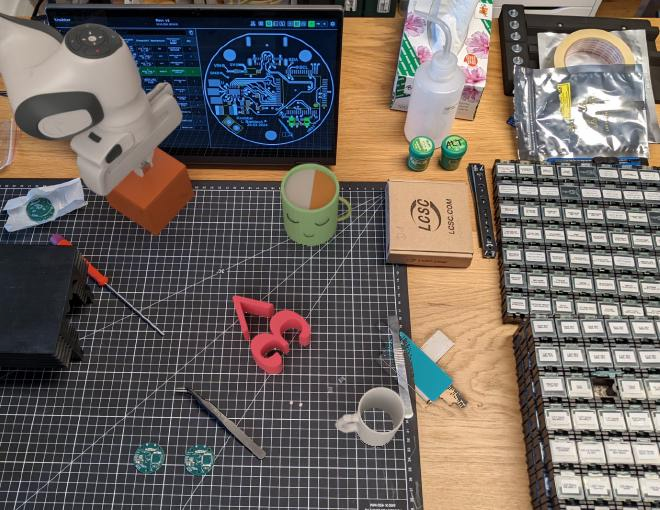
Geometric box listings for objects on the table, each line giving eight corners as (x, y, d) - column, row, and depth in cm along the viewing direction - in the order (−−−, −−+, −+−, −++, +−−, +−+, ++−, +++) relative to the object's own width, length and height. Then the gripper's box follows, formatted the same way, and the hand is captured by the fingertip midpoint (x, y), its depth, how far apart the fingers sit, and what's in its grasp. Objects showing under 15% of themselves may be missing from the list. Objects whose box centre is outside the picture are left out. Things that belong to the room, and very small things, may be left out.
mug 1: (279, 244, 115) (276, 210, 105) (288, 197, 120) (285, 160, 109) (347, 252, 115) (350, 219, 104) (352, 204, 120) (356, 168, 109)
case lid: (90, 174, 110) (83, 160, 106) (133, 133, 114) (128, 118, 110) (144, 211, 108) (139, 197, 104) (186, 168, 112) (182, 153, 108)
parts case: (110, 206, 118) (95, 180, 111) (149, 167, 123) (138, 139, 115) (156, 236, 116) (145, 211, 108) (194, 195, 120) (186, 168, 112)
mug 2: (391, 404, 102) (399, 383, 91) (399, 445, 99) (409, 429, 88) (330, 413, 101) (332, 394, 90) (337, 455, 98) (340, 441, 87)
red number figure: (216, 326, 108) (211, 315, 103) (258, 287, 111) (256, 275, 107) (273, 381, 103) (271, 372, 99) (315, 339, 107) (315, 328, 102)
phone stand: (490, 379, 104) (493, 376, 103) (443, 428, 100) (445, 426, 99) (403, 299, 111) (404, 295, 109) (356, 343, 107) (356, 339, 105)
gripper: (153, 68, 101) (169, 123, 113) (61, 150, 93) (90, 201, 105) (183, 85, 99) (196, 139, 112) (92, 170, 91) (118, 219, 103)
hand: (144, 170), depth 108 cm, fingers closed
